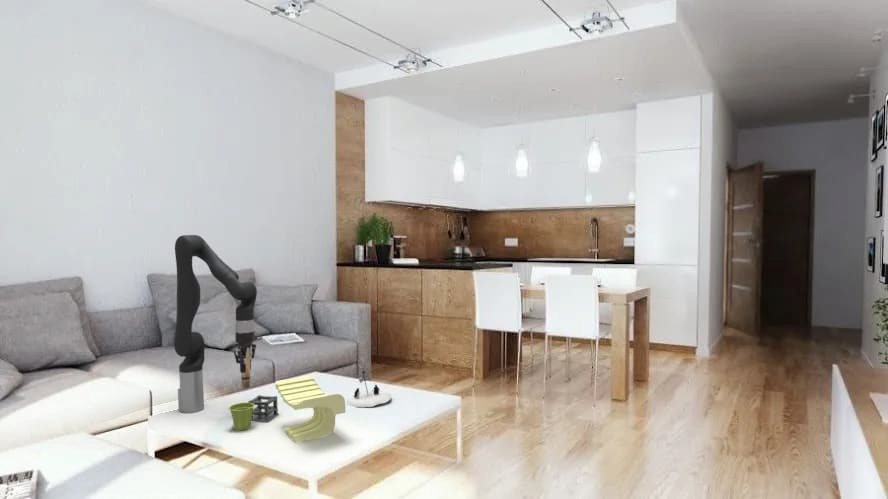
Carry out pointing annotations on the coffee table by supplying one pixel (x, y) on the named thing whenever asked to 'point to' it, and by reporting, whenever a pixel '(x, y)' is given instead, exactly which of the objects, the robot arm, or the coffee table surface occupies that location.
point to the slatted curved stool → (310, 396)
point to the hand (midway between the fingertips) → (245, 371)
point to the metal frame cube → (269, 410)
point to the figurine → (368, 395)
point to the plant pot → (241, 415)
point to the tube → (246, 375)
